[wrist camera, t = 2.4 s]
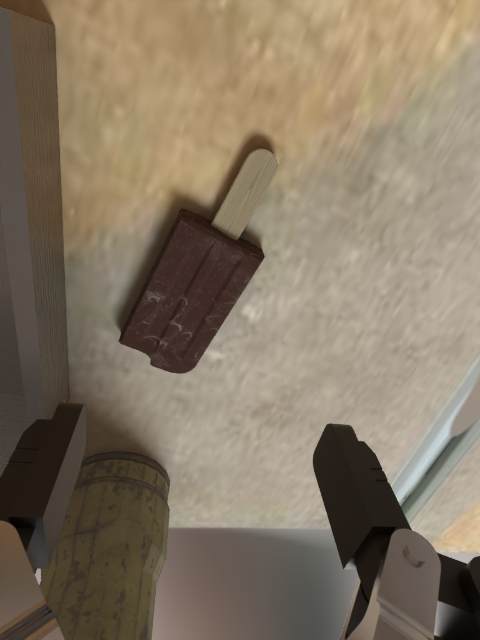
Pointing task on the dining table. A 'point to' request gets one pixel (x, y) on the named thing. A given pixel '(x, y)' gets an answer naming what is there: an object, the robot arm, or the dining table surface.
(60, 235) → the silver tray
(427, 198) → the dining table surface
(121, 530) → the thermos
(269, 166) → the ice cream bar
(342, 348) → the dining table surface
